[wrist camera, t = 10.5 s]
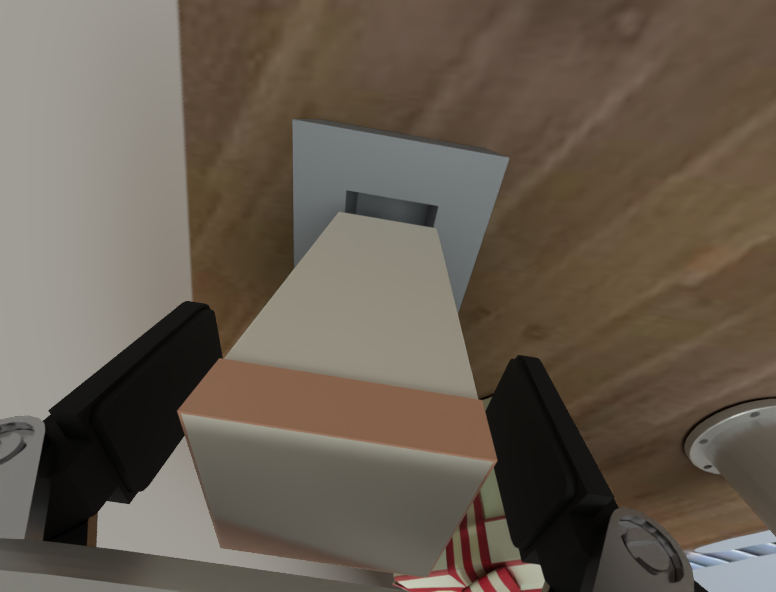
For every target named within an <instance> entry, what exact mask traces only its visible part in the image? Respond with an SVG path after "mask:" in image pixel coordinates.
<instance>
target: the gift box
mask: <svg viewBox="0 0 776 592" xmlns="http://www.w3.org/2000/svg"><path fill="white" fill-rule="evenodd" d="M491 398H492V397H490V398H487V399H484V400H482V402H483V405H484V409H485V411H486V409H487V407H488V404H489V402H490V400H491ZM394 580H395V581H394V582H393V586H398V587H400V588H402V589H404V590H406V591H409V592H541V590H542V587H543V585H544V582H545V580H544V576H543V573H542V569H541V566H540V565H537V564H530V563H523V562H522V561H521V557H520V553H519V549H518V548H516V547H515V546H514V545H513V543H512V541H511V538H510V534H509V530H508V525H507V521H506V517H505V513H504V509H503V504H502V500H501V496H500V492H499V488H498V483H497V479H496V475H495V471H494V467H493V469H492V471H491V472H490V474H489V476H488V477H487V479H486V481H485V483H484V484H483V486H482V488H481V489H480V491H479V493H478V494H477V496H476V498H475V499H474V501H473V503H472V504H471V506H470V508H469V509H468V511H467V513H466V514H465V516H464V518H463V519H462V521H461V523H460V525H459V526H458V528H457V530H456V531H455V533H454V535H453V536H452V538H451V540H450V541H449V543H448V545H447V546H446V548H445V550H444V551H443V553H442V555H441V556H440V558H439V560H438V561H437V563H436V565H435V566H434V568H433V570H432V572H431V573H430V575H429V577H428V578H423V577H416V576H409V575H403V574H396V573H394Z"/></svg>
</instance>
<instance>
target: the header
mask: <svg viewBox="0 0 776 592" xmlns="http://www.w3.org/2000/svg"><path fill="white" fill-rule="evenodd" d="M508 161H509V157H506V156H504V155H501V154H498V153H496V152H493V151H491V150H488V149H485V148H479V147H473V146H468V145H462V144H457V143H451V142H445V141H440V140H434V139H428V138H423V137H417V136H412V135H406V134H400V133H395V132H389V131H383V130H378V129H372V128H367V127H361V126H355V125H350V124H344V123H338V122H333V121H327V120H321V119H293V214H294V268H295V267H296V266H297V265H298V263H299V262H300V261H301V259H302V258H303V257H304V256H305V254H306V253H307V252H308V250H309V249H310V248H311V247H312V245H313V244H314V243H315V242H316V240H317V239H318V238H319V236H320V235H321V234H322V233H323V231H324V230H325V229H326V227H327V226H328V225H329V224H330V222H331V221H332V220H333V219H334V217H335V216H336V215H337V213H338V212H344V213H350V214H356V215H361V216H367V217H373V218H379V219H385V220H391V221H396V222H402V223H408V224H414V225H420V226H426V227H431V228H437V231H438V235H439V239H440V243H441V247H442V251H443V256H444V260H445V264H446V268H447V272H448V276H449V280H450V284H451V289H452V293H453V297H454V301H455V305H456V309H457V313H458V312H459V309H460V306H461V303H462V300H463V297H464V294H465V291H466V288H467V285H468V282H469V279H470V276H471V273H472V270H473V267H474V264H475V261H476V258H477V255H478V252H479V249H480V246H481V243H482V240H483V237H484V234H485V231H486V228H487V225H488V222H489V219H490V216H491V213H492V210H493V207H494V204H495V201H496V198H497V195H498V192H499V189H500V185H501V182H502V179H503V176H504V173H505V170H506V167H507V164H508Z"/></svg>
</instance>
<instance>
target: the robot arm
mask: <svg viewBox="0 0 776 592" xmlns="http://www.w3.org/2000/svg"><path fill="white" fill-rule="evenodd" d="M219 358H221V359H223V357H222V352H221V346H220V340H219V335H218V329H217V323H216V317H215V313H214V311H213V310H211V309H210V307H209V306H208V305H207V304H203V303H197V302H191V301H185V302H183V303H182V304H181V305H179V306H178V307H177V308H176V309H174V310H173V311H172V312H171V313H169V314H168V315H167V316H166V317H164V318H163V319H162V320H161V321H159V322H158V323H157V324H156V325H154V326H153V327H152V328H151V329H149V330H148V331H147V332H146V333H144V334H143V335H142V336H141V337H139V338H138V339H137V340H136V341H134V342H133V343H132V344H131V345H129V346H128V347H127V348H126V349H124V350H123V351H122V352H121V353H119V354H118V355H117V356H116V357H114V358H113V359H112V360H111V361H110V362H108V363H107V364H106V365H105V366H103V367H102V368H101V369H100V370H98V371H97V372H96V373H94V374H93V375H92V376H91V377H90V378H88V379H87V380H86V381H85V382H83V383H82V384H81V385H80V386H78V387H77V388H76V389H75V390H73V391H72V392H71V393H70V394H69V395H67V396H66V397H65V398H64V399H62V400H61V401H60V402H58V403H57V404H56V405H55V406H53V407H52V408H51V409H50V410H49V412H50V414H51V415H50V416H48V417H47V418H46V419H45V420H43V421H41V420H40V419H39V418H36V417H32V416H15V417H10V418H6V419H1V420H0V592H409V591H402V590H395V589H388V588H382V587H376V586H369V585H361V584H355V583H347V582H341V581H334V580H327V579H320V578H313V577H307V576H300V575H293V574H286V573H279V572H272V571H265V570H258V569H251V568H244V567H237V566H229V565H223V564H216V563H209V562H201V561H194V560H187V559H179V558H173V557H165V556H158V555H151V554H144V553H137V552H130V551H123V550H115V549H107V548H98V547H96V543H97V518H98V511H99V510H100V509H101V507H102V506H103V505H104V504H105V502H106V501H112V502H118V503H126V504H130V502H131V501H132V500H133V498H134V497H135V495H136V494H137V493H138V492H139V491H140V492H141V491H143V490H144V489H145V488H147V487H148V486H149V484H150V483H151V482H152V480H153V479H154V477H155V476H156V475H157V473H158V472H159V470H160V469H161V468H162V466H163V465H164V464H165V462H166V461H167V459H168V458H169V457H170V455H171V454H172V452H173V451H174V449H175V448H176V446H177V445H178V444H179V443H180V441H181V440H182V438H183V437H184V436H185V434H184V431H183V428H182V425H181V422H180V418H179V415H178V412H177V410H178V409H179V408H180V407H181V405H182V404H183V403H184V402H185V400H186V399H187V398H188V397H189V395H190V394H191V393H192V392H193V391H194V389H195V388H196V387H197V386H198V384H199V383H200V382H201V381H202V379H203V378H204V377H205V376H206V374H207V373H208V372H209V371H210V369H211V368H212V367H213V366H214V364H215V363H216V362H217V361H218V359H219ZM485 413H486V417H487V421H488V425H489V429H490V433H491V437H492V441H493V445H494V449H495V453H496V456H497V460H498V461H497V462H496V464H495V466H494V471H495V475H496V479H497V483H498V488H499V492H500V496H501V500H502V504H503V509H504V513H505V517H506V521H507V525H508V530H509V534H510V538H511V541H512V543H513V545H514V546H515V547H516V548H518V549H519V553H520V557H521V561H522V562H523V563H530V564H537V565H540V566H541V569H542V573H543V576H544V580H545V582H544V585H543V587H542V590H541V592H708V591H707V590H705V589H704V588H703V587H701V585H699V584H698V583H697V582H696V581H694V578H693V572H692V567H691V565H690V563H689V561H688V559H687V557H686V555H685V553H684V552H683V550H682V549H681V547H680V546H679V544H678V543H677V542H676V540H675V539H674V538H673V537H672V536H671V535H670V534H669V533H668V532H667V531H666V530H665V529H664V528H663V527H662V526H661V525H660V524H658V523H657V522H656V521H655V520H654V519H652V518H650V517H649V516H647V515H646V514H644V513H642V512H640V511H637V510H635V509H632V508H624V507H621V508H619V507H618V505H617V504H616V502H615V500H614V496H613V494H612V492H611V490H610V488H609V487H608V485H607V483H606V481H605V479H604V477H603V475H602V474H601V472H600V470H599V468H598V466H597V464H596V462H595V461H594V459H593V457H592V455H591V453H590V451H589V450H588V448H587V446H586V444H585V442H584V440H583V438H582V437H581V435H580V433H579V431H578V429H577V427H576V425H575V424H574V422H573V420H572V418H571V416H570V414H569V412H568V411H567V409H566V407H565V405H564V403H563V401H562V399H561V398H560V396H559V394H558V392H557V390H556V388H555V386H554V385H553V383H552V381H551V379H550V377H549V375H548V374H547V372H546V370H545V368H544V366H543V364H542V362H541V361H540V360H539V359H538V358H534V357H528V356H522V355H518V356H517V357H516V358H515V359H511V360H510V361H509V363H508V365H507V367H506V370H505V372H504V374H503V376H502V378H501V380H500V382H499V384H498V386H497V388H496V390H495V392H494V394H493V396H492V398H491V400H490V402H489V404H488V407H487V409H486V411H485ZM684 451H685V453H686V455H687V457H688V458H689V459H690V460H691V462H692V463H693V464H694V465H695V466H697V467H698V468H699V469H702V470H704V471H707V472H711V473H715V474H721V475H722V476H723V477H724V478H725V479H726V480H727V482H728V483H729V484H730V485H731V486H732V487H733V488H734V490H735V491H736V492H737V493H738V494H739V495H740V496H741V498H742V499H743V500H744V501H745V502H746V503H747V504H748V506H749V507H750V508H751V509H752V510H753V511H754V512H755V514H756V515H757V516H758V517H759V518H760V519H761V520H762V522H763V523H764V524H765V525H766V526H767V527H768V528H769V530H770V531H771V532H772V533H773V534H774V535H775V536H776V399H765V400H757V401H752V402H748V403H743V404H740V405H737V406H734V407H731V408H728V409H726V410H723V411H721V412H719V413H716V414H715V415H713V416H711V417H709V418H707V419H706V420H704V421H703V422H702V423H700V424H699V425H698V426H697V427H696V428H695V429H694V430H693V431H691V433H690V434H689V436H688V437H687V439H686V442H685V445H684Z"/></svg>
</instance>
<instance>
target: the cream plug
mask: <svg viewBox="0 0 776 592" xmlns="http://www.w3.org/2000/svg"><path fill="white" fill-rule="evenodd" d="M177 412H178V415H179V418H180V422H181V425H182V428H183V431H184V434H185V437H186V440H187V444H188V446H189V450H190V453H191V456H192V459H193V462H194V466H195V469H196V472H197V475H198V478H199V481H200V484H201V488H202V490H203V494H204V497H205V500H206V503H207V506H208V509H209V513H210V516H211V519H212V522H213V525H214V529H215V532H216V534H217V538H218V541H219V544H220V547H221V548H224V549H232V550H238V551H245V552H252V553H258V554H265V555H273V556H279V557H286V558H293V559H300V560H306V561H314V562H321V563H328V564H335V565H341V566H348V567H355V568H361V569H369V570H375V571H382V572H389V573H396V574H403V575H409V576H416V577H423V578H428V577H429V575H430V573H431V572H432V570H433V568H434V566H435V565H436V563H437V561H438V560H439V558H440V556H441V555H442V553H443V551H444V550H445V548H446V546H447V545H448V543H449V541H450V540H451V538H452V536H453V535H454V533H455V531H456V530H457V528H458V526H459V525H460V523H461V521H462V519H463V518H464V516H465V514H466V513H467V511H468V509H469V508H470V506H471V504H472V503H473V501H474V499H475V498H476V496H477V494H478V493H479V491H480V489H481V488H482V486H483V484H484V483H485V481H486V479H487V477H488V476H489V474H490V472H491V471H492V469H493V467H494V466H495V464H496V462H497V461H498V460H497V456H496V453H495V449H494V445H493V441H492V437H491V433H490V429H489V425H488V421H487V417H486V413H485V409H484V405H483V402H482V400H479V399H478V396H477V392H476V388H475V384H474V379H473V375H472V371H471V367H470V363H469V359H468V355H467V351H466V346H465V342H464V338H463V334H462V330H461V326H460V322H459V318H458V313H457V309H456V305H455V301H454V297H453V293H452V289H451V284H450V280H449V276H448V272H447V268H446V264H445V260H444V256H443V251H442V247H441V243H440V239H439V235H438V231H437V228H431V227H426V226H420V225H414V224H408V223H402V222H396V221H391V220H385V219H379V218H373V217H367V216H361V215H356V214H350V213H344V212H338V213H337V215H336V216H335V217H334V219H333V220H332V221H331V222H330V224H329V225H328V226H327V227H326V229H325V230H324V231H323V233H322V234H321V235H320V236H319V238H318V239H317V240H316V242H315V243H314V244H313V245H312V247H311V248H310V249H309V250H308V252H307V253H306V254H305V256H304V257H303V258H302V259H301V261H300V262H299V263H298V265H297V266H296V267H295V268H294V270H293V271H292V272H291V274H290V275H289V276H288V277H287V279H286V280H285V281H284V282H283V284H282V285H281V286H280V288H279V289H278V290H277V291H276V293H275V294H274V295H273V297H272V298H271V299H270V300H269V302H268V303H267V304H266V305H265V307H264V308H263V309H262V311H261V312H260V313H259V314H258V316H257V317H256V318H255V320H254V321H253V322H252V323H251V325H250V326H249V327H248V328H247V330H246V331H245V332H244V334H243V335H242V336H241V337H240V339H239V340H238V341H237V343H236V344H235V345H234V346H233V348H232V349H231V350H230V351H229V353H228V354H227V355H226V357H225V358H224V359H221V358H219V359H218V361H217V362H216V363H215V364H214V366H213V367H212V368H211V369H210V371H209V372H208V373H207V374H206V376H205V377H204V378H203V379H202V381H201V382H200V383H199V384H198V386H197V387H196V388H195V389H194V391H193V392H192V393H191V394H190V395H189V397H188V398H187V399H186V400H185V402H184V403H183V404H182V405H181V407H180V408H179V409H178V410H177Z"/></svg>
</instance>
